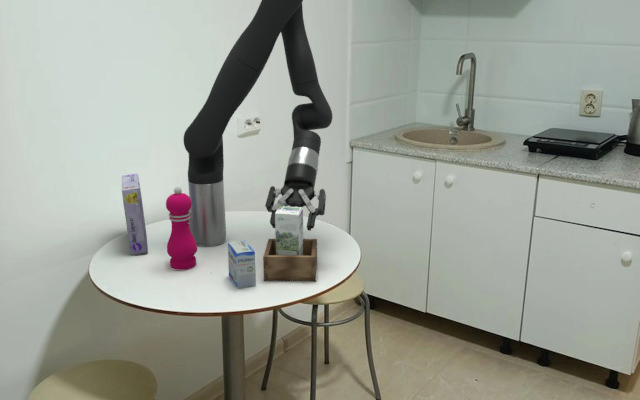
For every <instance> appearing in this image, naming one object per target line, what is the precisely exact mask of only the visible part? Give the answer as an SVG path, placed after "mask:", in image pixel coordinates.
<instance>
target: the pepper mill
mask: <svg viewBox="0 0 640 400" xmlns="http://www.w3.org/2000/svg"><path fill="white" fill-rule="evenodd" d="M182 191H183V190H182V188H181V187H179V186H177V187H175V188H174V189H173V192H174V193H172V194H170V195H169V196H168V197H167V198H166V201H165V207H166V210H167V211H168V212H169V213H168V216H169V218H168V220H170V223H171V231H170V232H171V233H170V236H169V239H168V240H167V244H166V253H167V254H168V256H169V257H170V259H169V265H170V268H171V269H173V270H176V271H183V270H184V271H186V270H190V269H193V268H195V266H197V257H196V256H195V255H196V253H197V252H198V245H197V244H196V241H195V239H194V237H193V235H192V233H191V231H190V227H189V219H190V212H189V210H190V208H191V206H192V202H191V199H190V197H189V195H188V194H186V193H183V192H182Z"/></svg>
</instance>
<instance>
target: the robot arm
mask: <svg viewBox="0 0 640 400" xmlns="http://www.w3.org/2000/svg"><path fill="white" fill-rule="evenodd" d="M303 1H304V0H261V1H260V3H259V6H258V8H257V9H256V12H255V14H254V16H253V18H252V20H251V21H250V22H249V24H248V26H247V27H246V28H245V29H244V30H243V31H242V33H241V34H240V36H238V39H236V41H235V43H234V44H233V47H231V49H230V51H229V53H228V54H227V57H226V58H225V60H224V62H223V64H222V66H221V68H220V70H219V72H218V74H217V76H216V78H215V80H214V82H213V84H212V87H211V90H210V92H209V94H208V96H207V98H206V100H205V103H204V105H203V106H202V108H201V109H200V111H199V112H198V113H197V115H196V116H195V117H194V119H193V121H192V122H191V123H190V124H189V125H188V126H187V128H186V129H185V132H184V134H183V146H184V149H185V151H186V153H188V169H187V181H188V182H187V183H188V194H189V195H188V196H189V197H190V199H191V202H192V206H191V208H190V210H189V212H190V219H189V227H190V231H191V233H192V235H193V237H194V239H195V241H196V244H197V247H215V246H219V245H222V244H224V243H226V241H227V226H226V225H227V224H226V208H225V207H226V206H225V202H226V201H225V189H224V187H225V185H224V183H225V182H224V163H225V162H224V141H223V140H224V139H223V135H224V134H225V131H226V128H227V126H228V125H229V122H230V120H231V119H232V118H233V115H234V114H235V113H236V111H237V110H238V108H239V107H240V106H241V104H242V103H243V102H244V101H245V99H246V98H247V96H248V95H249V93H250V92H251V90H253V88H254V86H255V84H256V83H257V81H258V79H259V77H260V76H261V74H262V72H263V71H264V69H265V67H266V64H267V62H268V61H269V59H270V57H271V54H272V52H273V50H274V47H275V45H276V42H277V40H278V38H279V36H280V34H281V38H282V43H283V48H284V55H285V60H286V66H287V67H286V68H287V71H288V75H289V81H290V85H291V89H292V92H293V94H294V95H295V96H298V97H299V96H300V97H306V98H308V99H309V100H310V101H311V102H308V103H300V104H298V105H297V106H295V107H294V108H293V110H292V112H291V121H292V122H291V123H292V130H293V131H292V132H293V142H292V148H291V151H290V156H289V158H288V163H287V166H286V167H287V168H286V172H285V177H284V182H283V186H282V187H281V188H276V187H275V186H274V185H272V186H270V187H269V191H268V194H267V197H266V202H265V205H264V207H265V208H266V210H267V212H268V213H271V215H270V217H269V218H270V219H269V222H270V226H272V229H275V212H276V211H277V209H278V208H279V207H280V206H284V207H302V208H303V207H305V208H306V209H307V211H308V212H309V213H308V216H307V223H306V229H307V232H308V231H309V232H310V231H312V229H314V228H315V225H316V224H315V223H316V219H317V216H324V215H325V211H326V201H327V195H326V194H327V193H326V191H325V189H324V188H321V189H319V190H315V186H316V185H315V184H316V179H317V175H318V170H319V156H320V151H321V146H322V145H321V144H322V139H321V136H320V135H319V133H317V132H315V130H322V129H327V128H328V127H330V125H331V124H332V123H333V112H332V108H331V106H330V104H329V102H328V100H327V98H326V97H325V94H324V92H323V89H322V88H321V86H320V83H319V77H318V73H317V68H316V64H315V60H314V59H315V58H314V56H313V53H312V49H311V48H312V47H311V46H310V43H309V39H308V36H307V32H306V25H305V22H304V21H305V20H304V14H303V13H304V12H303V10H304V9H303ZM279 195H281V197H280V198H278V197H279ZM315 197H316V199H317V200H318V207H317V208H315V207H314V206H313V203H312V202H311V201H312V200H313V199H314V198H315ZM277 198H278V200H277V202H276V203H275V201H276V199H277ZM303 209H304V208H303Z"/></svg>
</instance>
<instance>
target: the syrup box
mask: <svg viewBox="0 0 640 400" xmlns="http://www.w3.org/2000/svg"><path fill="white" fill-rule="evenodd" d="M274 229H275V231H274V232H275V239H276V255H293V256H303V239H304V208H302V207H290V206H288V207H284V206H280V207H279V208H278V209H277V211H276V212H275V228H274Z"/></svg>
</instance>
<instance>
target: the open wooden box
mask: <svg viewBox="0 0 640 400" xmlns="http://www.w3.org/2000/svg"><path fill="white" fill-rule="evenodd" d="M264 249H265V250H264V253H263V256H262V260H263V261H262V264H263V265H262V266H263V281H264V282H316V281H317V270H318V269H317V268H318V239H317V238H303V256H293V255H276V238H268V240H267V243H266V247H265V248H264Z"/></svg>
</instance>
